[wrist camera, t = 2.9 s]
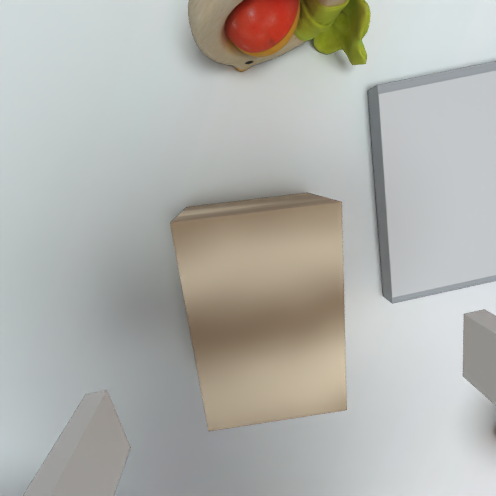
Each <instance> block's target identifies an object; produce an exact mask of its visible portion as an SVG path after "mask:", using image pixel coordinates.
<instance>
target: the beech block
mask: <svg viewBox="0 0 496 496" xmlns="http://www.w3.org/2000/svg"><path fill="white" fill-rule="evenodd" d="M170 226H171V231H172V236H173V242H174V247H175V253H176V258H177V264H178V269H179V274H180V280H181V285H182V291H183V296H184V302H185V307H186V312H187V318H188V323H189V329H190V334H191V339H192V345H193V350H194V356H195V361H196V367H197V372H198V377H199V383H200V388H201V394H202V399H203V405H204V410H205V415H206V421H207V426H208V431H214V430H221V429H227V428H234V427H240V426H247V425H253V424H260V423H266V422H273V421H279V420H286V419H292V418H299V417H305V416H312V415H318V414H325V413H331V412H338V411H344V410H347V398H346V357H345V315H344V274H343V232H342V202H340V201H337V200H333V199H329V198H325V197H322V196H318V195H314V194H311V193H302V194H293V195H285V196H276V197H268V198H260V199H251V200H243V201H235V202H226V203H218V204H209V205H201V206H193V207H186V208H185V209H184V210H183V211H182V212H181V213H180V214H179V215H178V216H177V217H176V218H174V219H173V220H172V221H171V222H170Z"/></svg>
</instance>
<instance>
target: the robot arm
mask: <svg viewBox="0 0 496 496" xmlns="http://www.w3.org/2000/svg"><path fill="white" fill-rule="evenodd" d="M463 377H464V378H465V379H467V380H468V381H469V382H470V383H471V384H472V385H473V386H474V387H476V388H477V389H478V390H479V391H480V392H481V393H482V394H483V395H484V396H486V397H487V398H488V399H489V400H490V401H491V402H492V403H493V404H495V405H496V316H495V315H493V314H492V313H490V312H488V311H486V310H479V311H475V312H470V313H465V314H464V330H463ZM129 451H130V445H129V443H128V440H127V438H126V435H125V433H124V431H123V428H122V426H121V423H120V421H119V418H118V416H117V413H116V411H115V409H114V406H113V404H112V401H111V399H110V396H109V394H108V392H107V390H104V391H99V392H95V393H90V394H86V395H85V396H84V398H83V400H82V401H81V403H80V404H79V406H78V408H77V409H76V411H75V412H74V414H73V416H72V417H71V419H70V421H69V422H68V424H67V425H66V427H65V429H64V430H63V432H62V433H61V435H60V437H59V438H58V440H57V441H56V443H55V445H54V446H53V448H52V450H51V451H50V453H49V454H48V456H47V458H46V459H45V461H44V462H43V464H42V466H41V467H40V469H39V471H38V472H37V474H36V475H35V477H34V479H33V480H32V482H31V483H30V485H29V487H28V488H27V490H26V491H25V493H24V495H23V496H114V494H115V491H116V488H117V486H118V483H119V480H120V477H121V474H122V471H123V468H124V465H125V462H126V459H127V456H128V454H129Z"/></svg>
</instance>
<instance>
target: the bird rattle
mask: <svg viewBox="0 0 496 496" xmlns="http://www.w3.org/2000/svg"><path fill="white" fill-rule="evenodd" d="M188 16H189V23H190V27H191V31H192V35H193V37H194V40H195V42H196V44H197V46H198V47H199V49H200V50H201V51H202V52H203V53H204V54H205V55H206V56H207V57H209V58H210V59H212V60H214V61H216V62H218V63H221V64H226V65H233V66H234V67H235V68H236V69H237V70H239V71H245V70H247V69H249V68H250V67H252V66H254V65H256V64H258V63H261V62H264V61H267V60H270V59H273V58H275V57H278V56H280V55H282V54H284V53H286V52H288V51H290V50H292V49H294V48H296V47H298V46H299V45H301V44H303V43H304V42H306V41H309V40H312V39H313V38H314V40H313V43H314V46H315V48H316V49H317V50H318V51H319V52H321V53H324V54H331V53H333V52H336V51H338V50H340V49H342V50H344V52H345V53H346V55H347V56H348V58H349V61H350V63H351V64H352V65H358V64H366V59H367V54H366V51H365V48H364V45H363V43H362V38H363V37H364V36H365V34H366V33H367V31H368V28H369V23H370V9H369V6H368V4H367V3H366V1H365V0H189V3H188Z"/></svg>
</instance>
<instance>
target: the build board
mask: <svg viewBox="0 0 496 496" xmlns="http://www.w3.org/2000/svg"><path fill="white" fill-rule="evenodd" d="M368 102H369V116H370V129H371V142H372V155H373V168H374V181H375V194H376V207H377V220H378V233H379V246H380V259H381V272H382V285H383V297H385V298H386V299H387V300H388V301H390V302H391V303H392V304H393V303H397V302H402V301H406V300H411V299H416V298H420V297H425V296H429V295H434V294H438V293H443V292H448V291H452V290H457V289H461V288H466V287H470V286H475V285H480V284H484V283H489V282H493V281H496V61H494V62H489V63H484V64H479V65H474V66H469V67H465V68H460V69H455V70H450V71H445V72H440V73H435V74H430V75H425V76H420V77H415V78H410V79H405V80H400V81H395V82H390V83H385V84H380V85H377V86H375V87H373V88H371V89H370V90H368Z"/></svg>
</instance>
